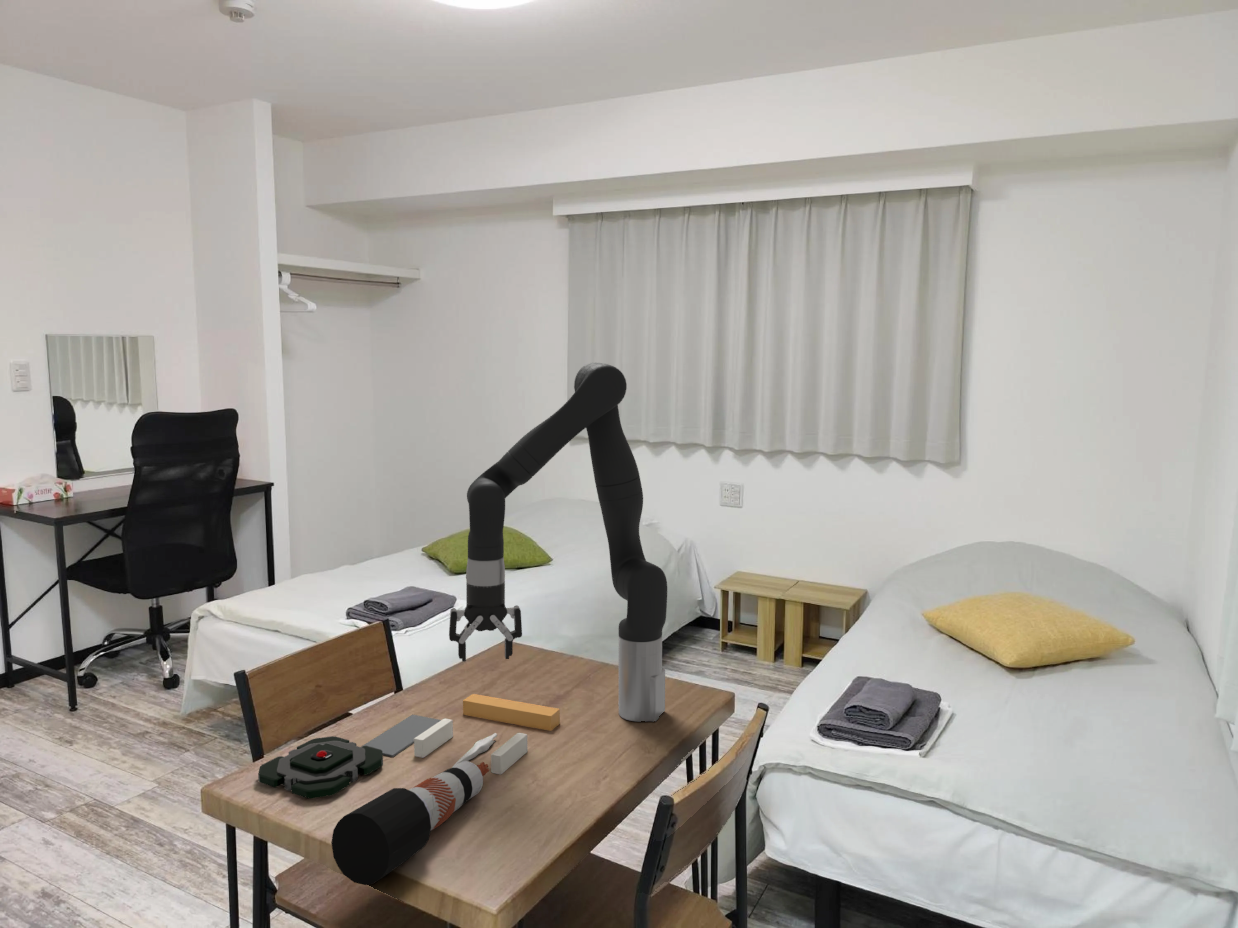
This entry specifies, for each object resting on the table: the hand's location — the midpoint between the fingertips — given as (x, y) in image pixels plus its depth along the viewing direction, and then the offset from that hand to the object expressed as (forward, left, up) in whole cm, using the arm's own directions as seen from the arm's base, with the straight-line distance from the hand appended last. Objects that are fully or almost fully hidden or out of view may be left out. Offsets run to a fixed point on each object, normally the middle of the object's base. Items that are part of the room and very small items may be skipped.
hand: (485, 659), depth 170 cm
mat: (+15, +7, -16) cm, 23 cm away
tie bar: (-1, -8, -16) cm, 18 cm away
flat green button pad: (+19, +26, -16) cm, 36 cm away
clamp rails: (-2, +9, -16) cm, 18 cm away
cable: (-10, +34, -16) cm, 39 cm away
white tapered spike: (-3, +9, -16) cm, 19 cm away
